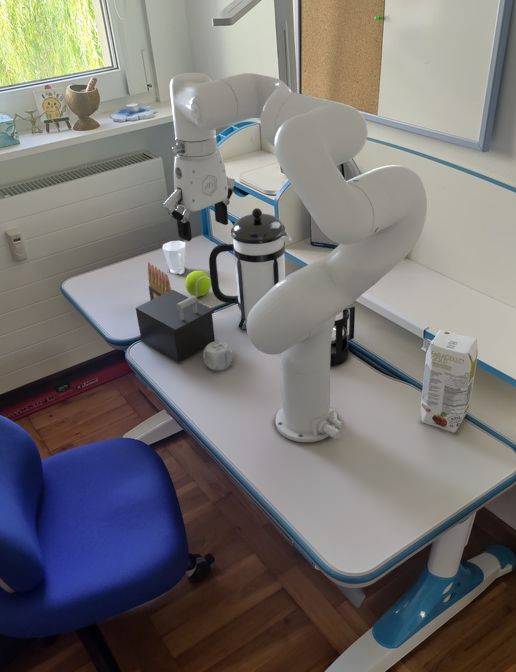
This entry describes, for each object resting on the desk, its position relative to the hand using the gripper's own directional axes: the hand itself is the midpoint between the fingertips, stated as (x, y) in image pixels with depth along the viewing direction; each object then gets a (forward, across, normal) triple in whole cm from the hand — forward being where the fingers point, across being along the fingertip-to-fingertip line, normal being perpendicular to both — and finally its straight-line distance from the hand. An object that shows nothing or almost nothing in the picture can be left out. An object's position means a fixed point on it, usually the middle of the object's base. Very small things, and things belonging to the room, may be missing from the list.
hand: (204, 230), depth 132 cm
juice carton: (+34, +18, -48) cm, 61 cm away
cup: (+36, +26, +45) cm, 63 cm away
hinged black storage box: (+35, +2, +16) cm, 39 cm away
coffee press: (+35, +22, +8) cm, 42 cm away
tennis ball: (+36, +21, +30) cm, 51 cm away
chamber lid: (+26, +2, +16) cm, 31 cm away
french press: (+34, +22, -16) cm, 44 cm away
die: (+35, +2, +1) cm, 35 cm away
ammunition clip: (+36, +10, +32) cm, 49 cm away
